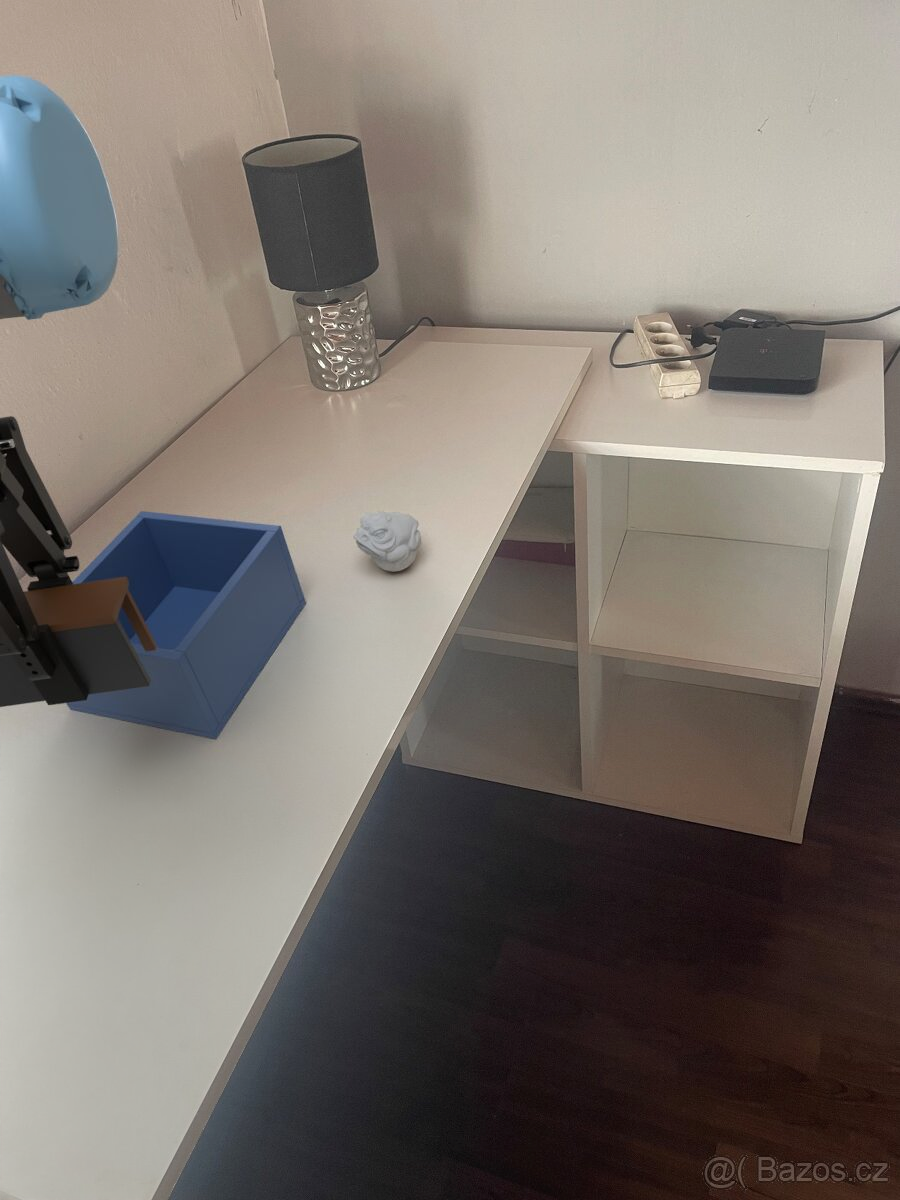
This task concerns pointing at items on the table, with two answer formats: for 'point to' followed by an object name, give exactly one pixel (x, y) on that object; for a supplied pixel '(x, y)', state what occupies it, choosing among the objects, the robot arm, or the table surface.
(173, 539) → the bin
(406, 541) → the frog figurine
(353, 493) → the table surface
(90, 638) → the two-tone wooden bracket
